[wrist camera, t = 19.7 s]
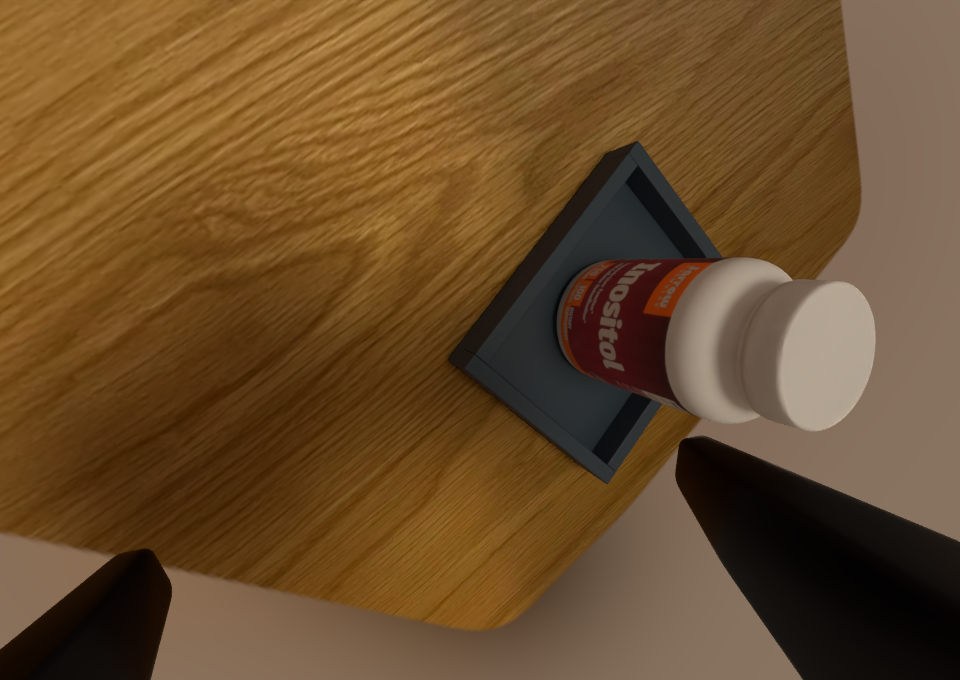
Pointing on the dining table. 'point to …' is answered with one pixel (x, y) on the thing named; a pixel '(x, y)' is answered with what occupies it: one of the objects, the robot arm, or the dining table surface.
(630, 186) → the dish
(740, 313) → the pill bottle
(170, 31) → the dining table surface
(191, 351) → the dining table surface
